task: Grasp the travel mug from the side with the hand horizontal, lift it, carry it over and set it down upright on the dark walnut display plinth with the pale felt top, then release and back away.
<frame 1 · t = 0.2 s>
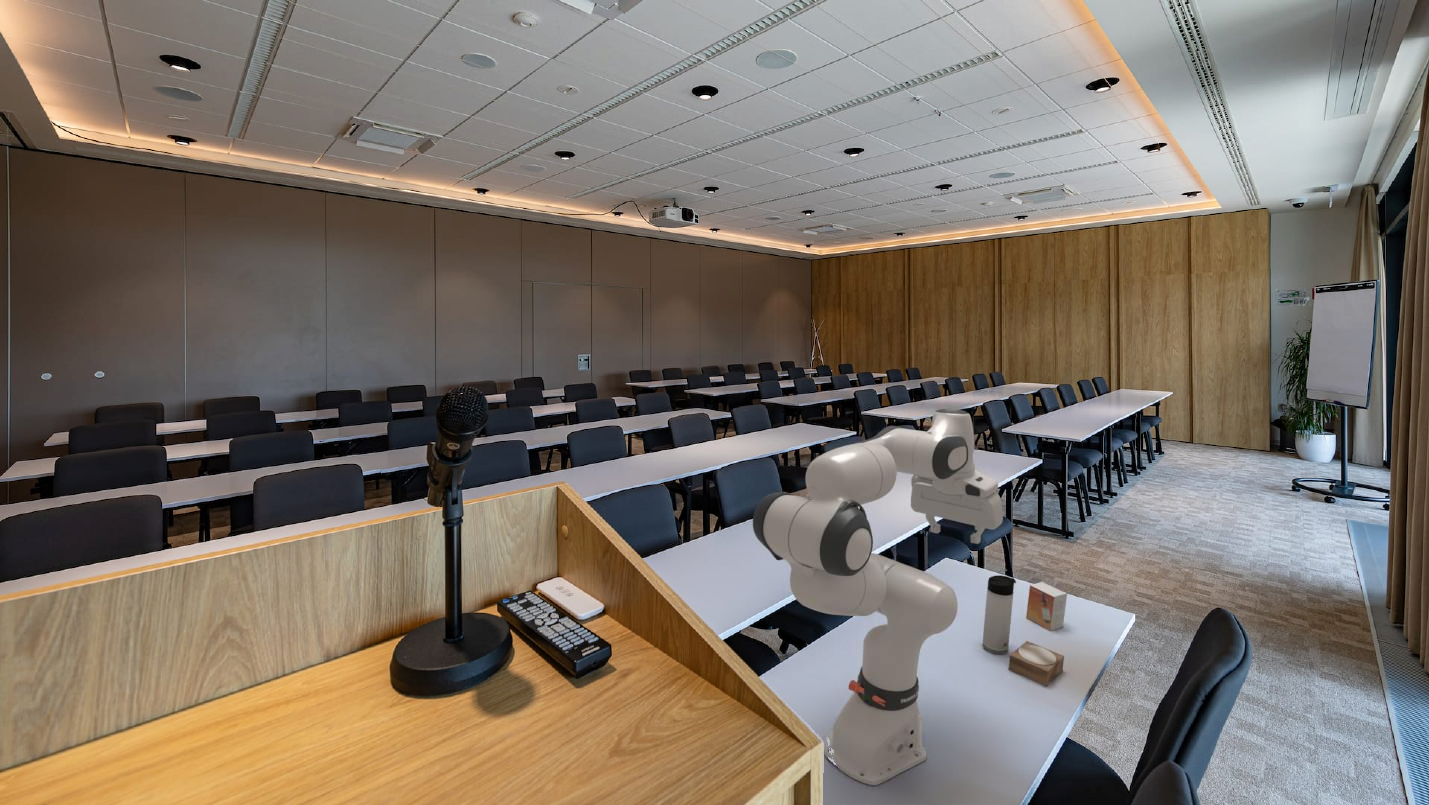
hand: (955, 537, 138), 39 cm above the table, tool pointing down, fingers open, 8 cm apart
travel mug: (995, 649, 163), on the table
small box: (1044, 623, 176), on the table
plinth: (1035, 670, 153), on the table
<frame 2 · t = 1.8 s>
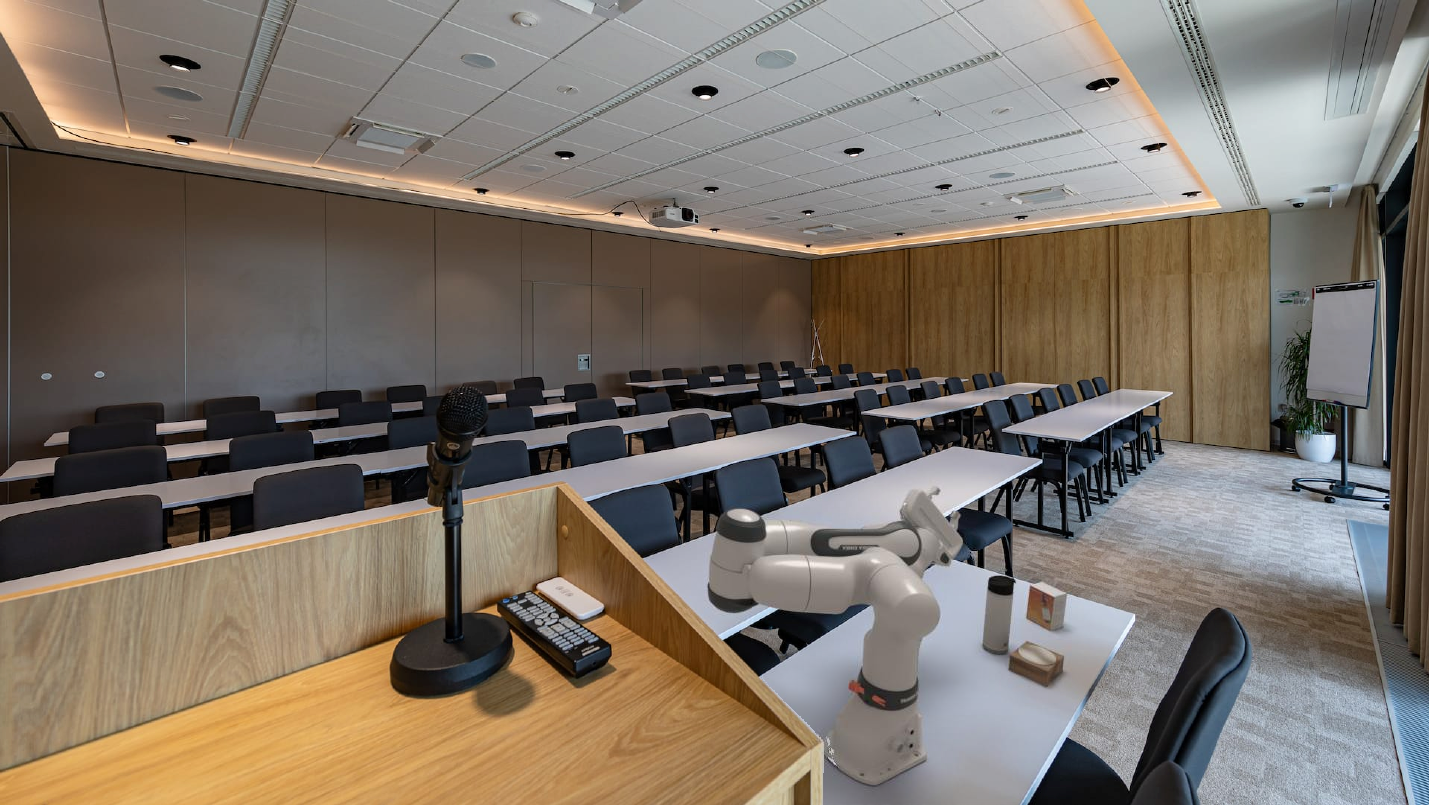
hand: (947, 500, 155), 41 cm above the table, tool pointing upward, fingers open, 8 cm apart
nothing on the table moved.
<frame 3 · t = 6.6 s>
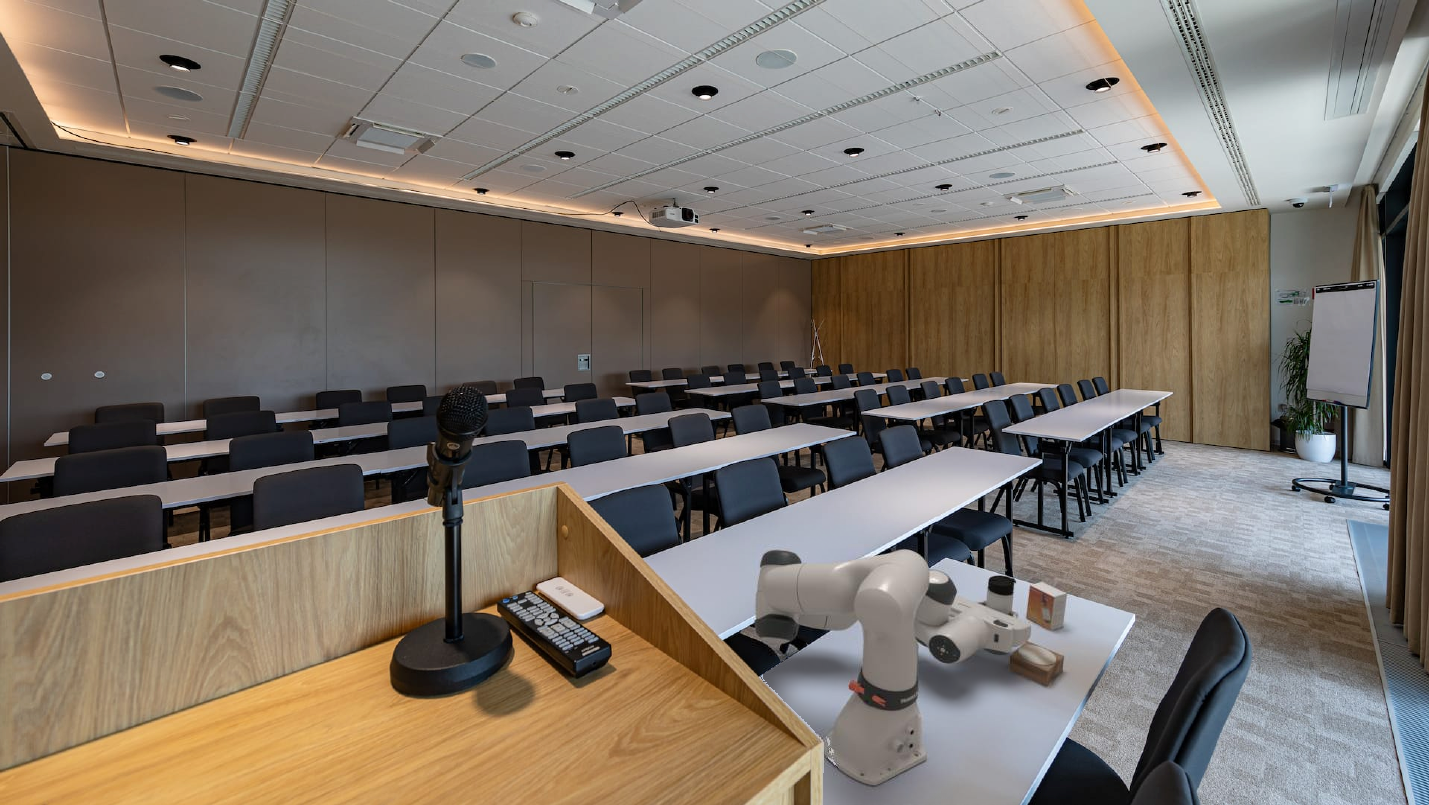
hand: (1000, 609, 161), 11 cm above the table, tool horizontal, fingers closed on travel mug, 6 cm apart
travel mug: (995, 649, 163), on the table, touching gripper
everything else where it was.
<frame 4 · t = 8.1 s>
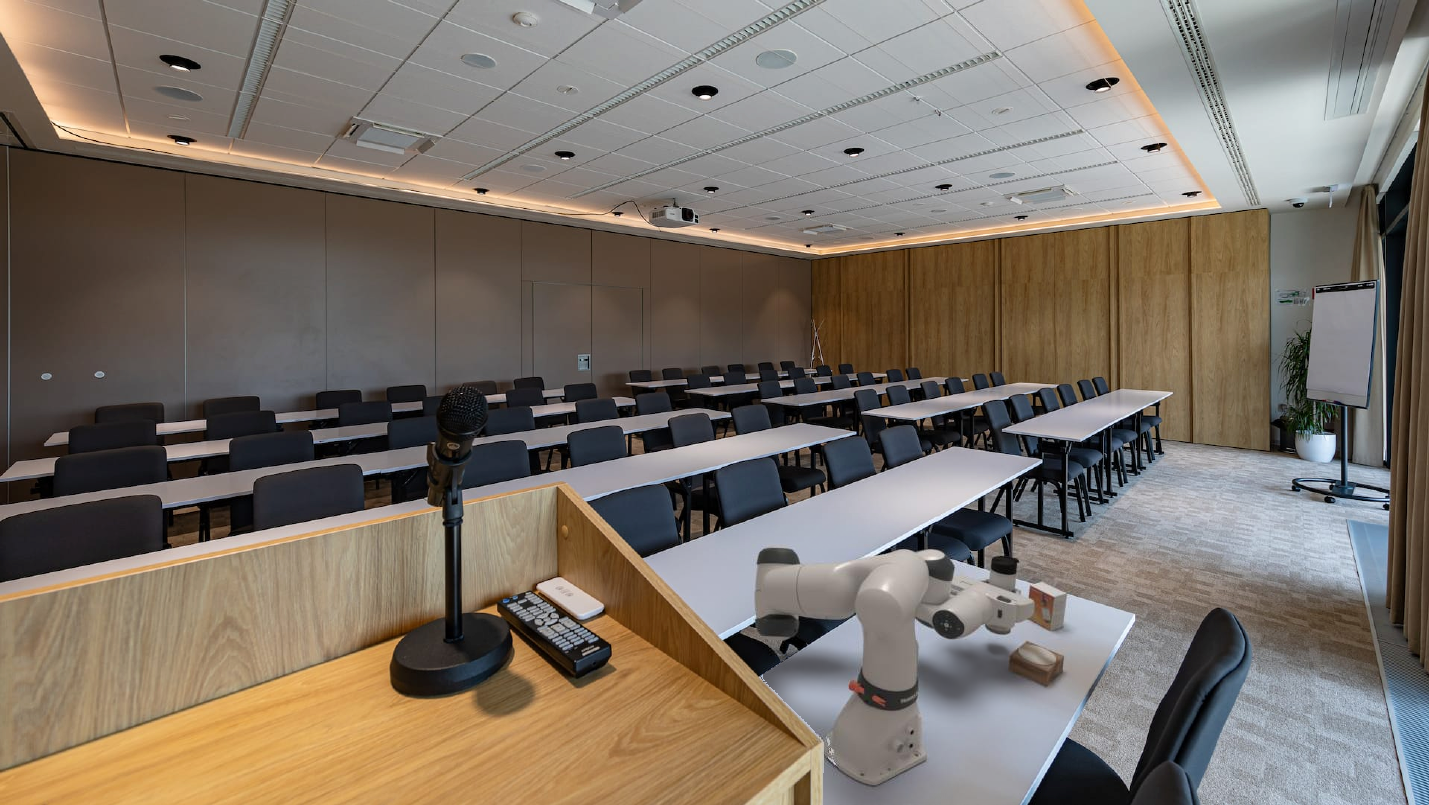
hand: (1003, 586, 161), 17 cm above the table, tool horizontal, fingers closed on travel mug, 6 cm apart
travel mug: (998, 629, 162), point 5 cm above the table, touching gripper
everything else where it was.
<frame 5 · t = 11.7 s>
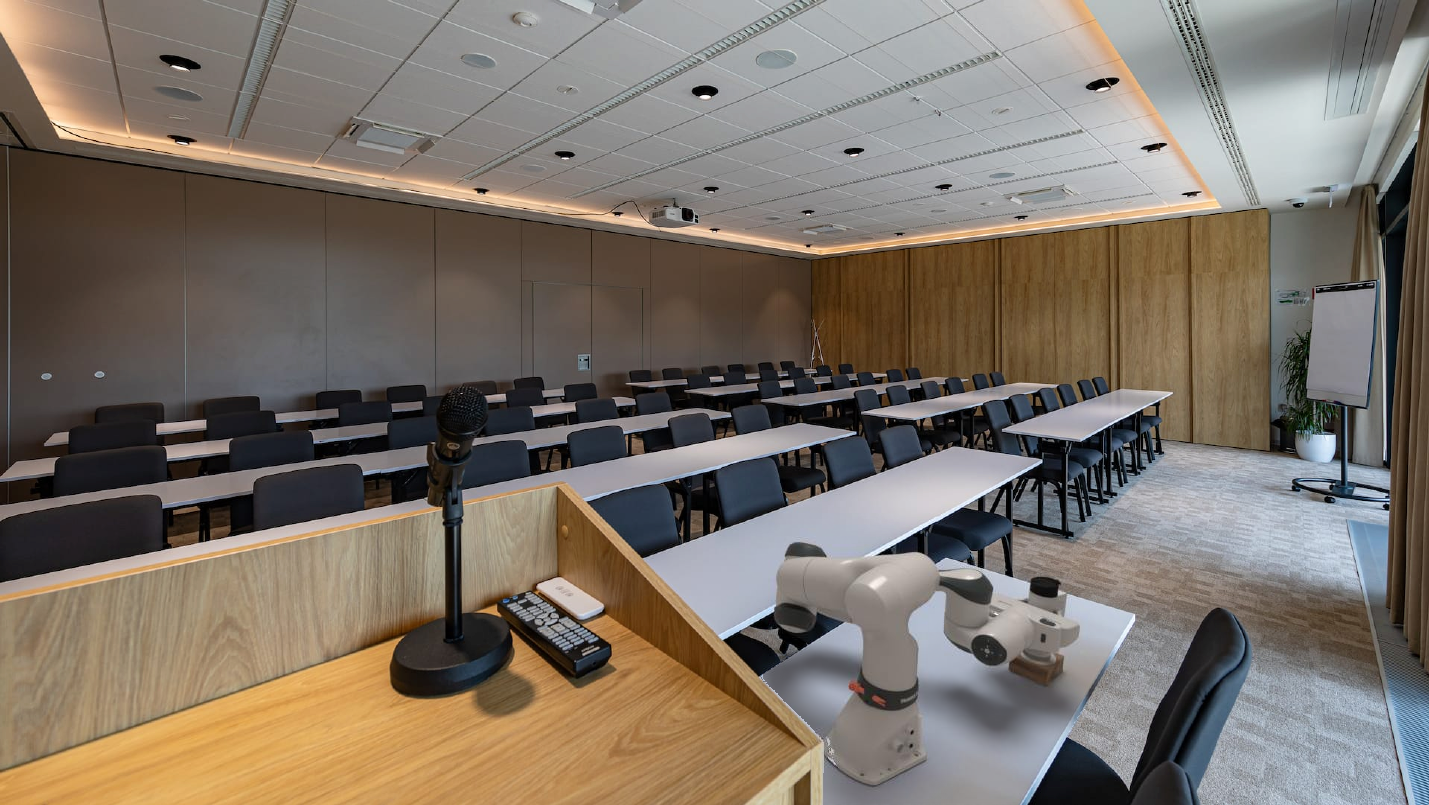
hand: (1043, 606, 151), 17 cm above the table, tool horizontal, fingers closed on travel mug, 6 cm apart
travel mug: (1037, 655, 152), point 4 cm above the table, touching gripper, plinth
everything else where it was.
when the fingers open (17 cm above the table, at t = 12.0 s): travel mug stays where it is, resting on plinth.
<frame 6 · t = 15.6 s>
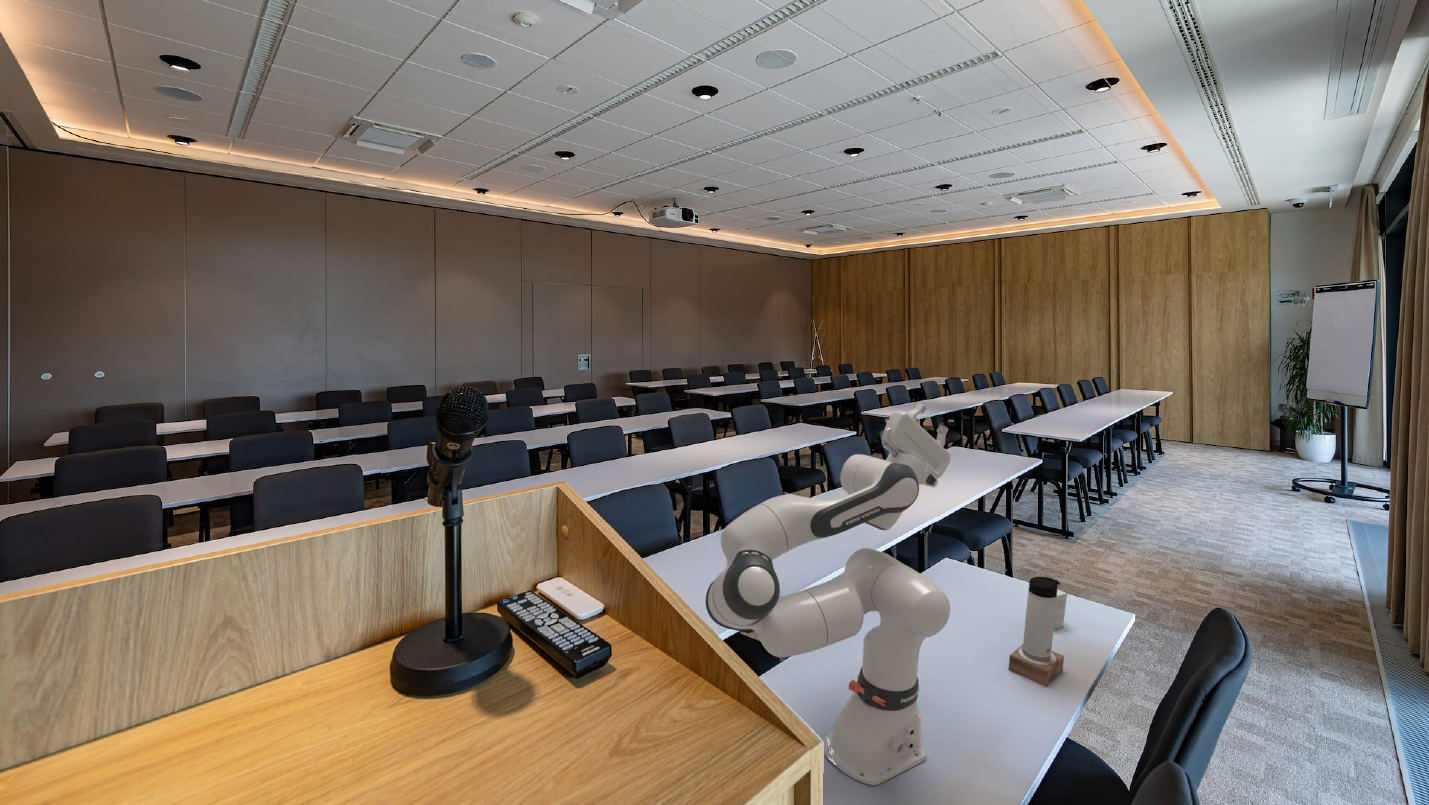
hand: (933, 416, 142), 65 cm above the table, tool pointing upward, fingers open, 8 cm apart
travel mug: (1037, 655, 152), point 4 cm above the table, touching plinth
everything else where it was.
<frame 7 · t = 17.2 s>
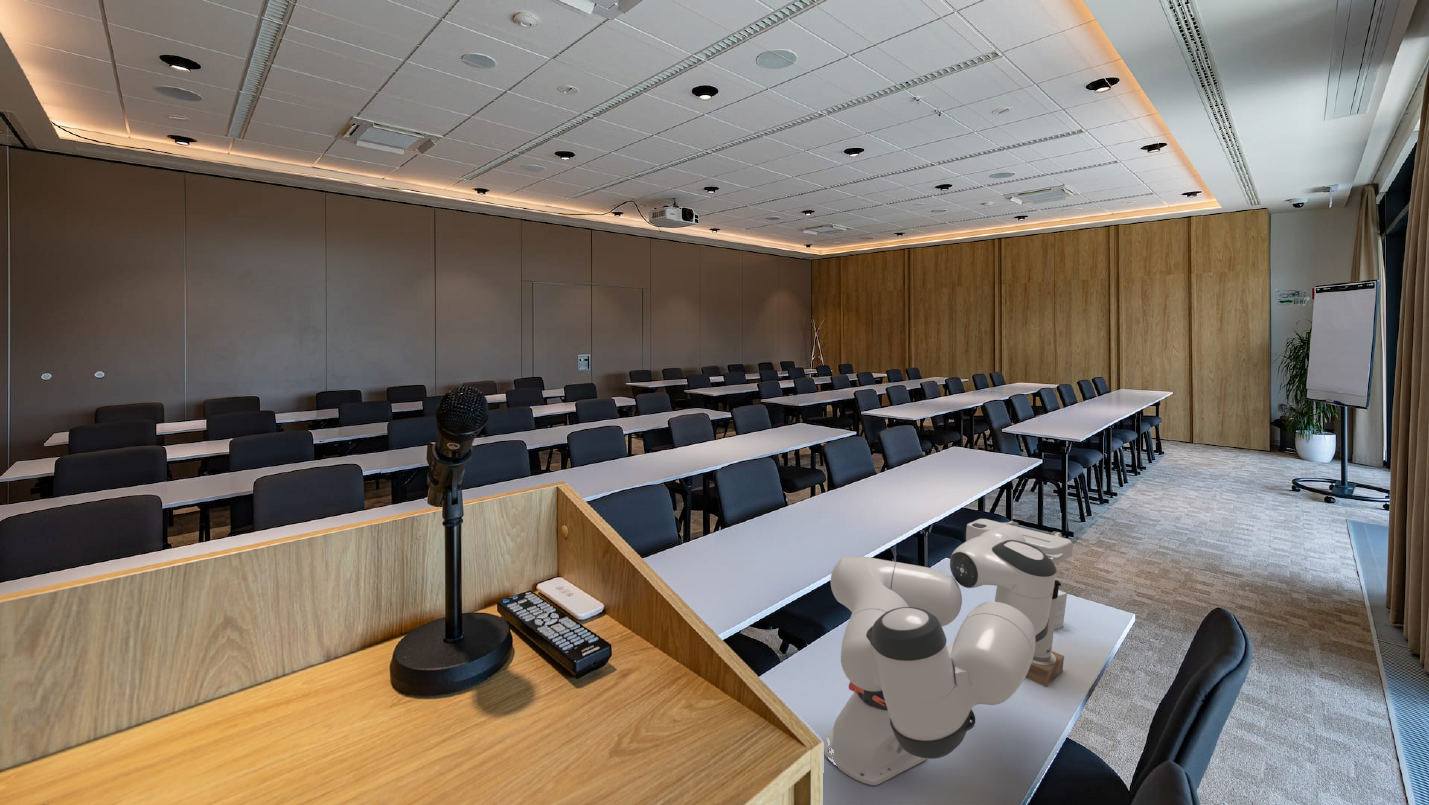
hand: (1036, 530, 137), 41 cm above the table, tool horizontal, fingers open, 8 cm apart
nothing on the table moved.
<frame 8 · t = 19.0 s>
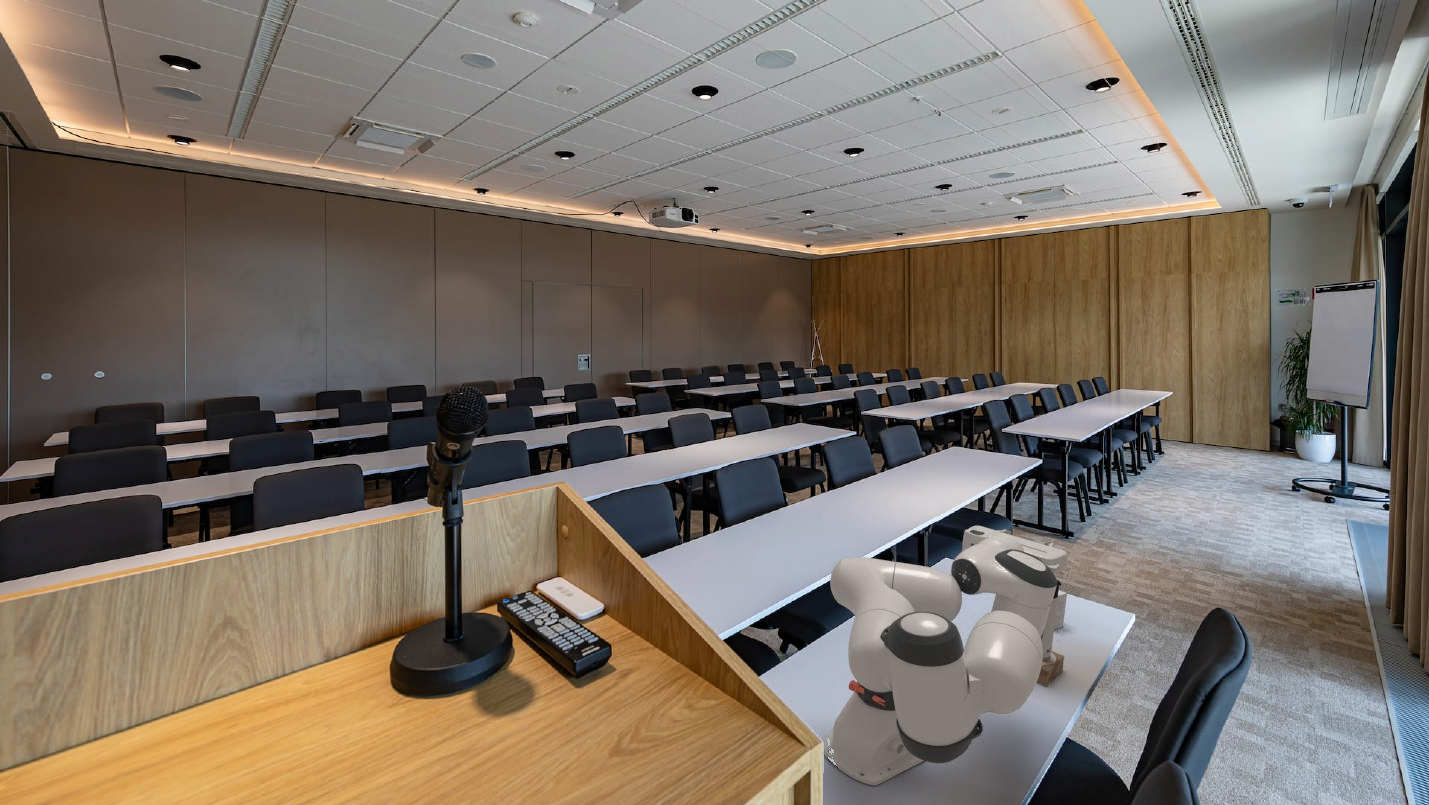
hand: (1028, 539, 139), 38 cm above the table, tool horizontal, fingers open, 8 cm apart
nothing on the table moved.
at the end: travel mug inside the target area on the plinth (0.2 cm from its centre), point 4.1 cm above the plinth's base; travel mug tilted 1°; the gripper is holding nothing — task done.
